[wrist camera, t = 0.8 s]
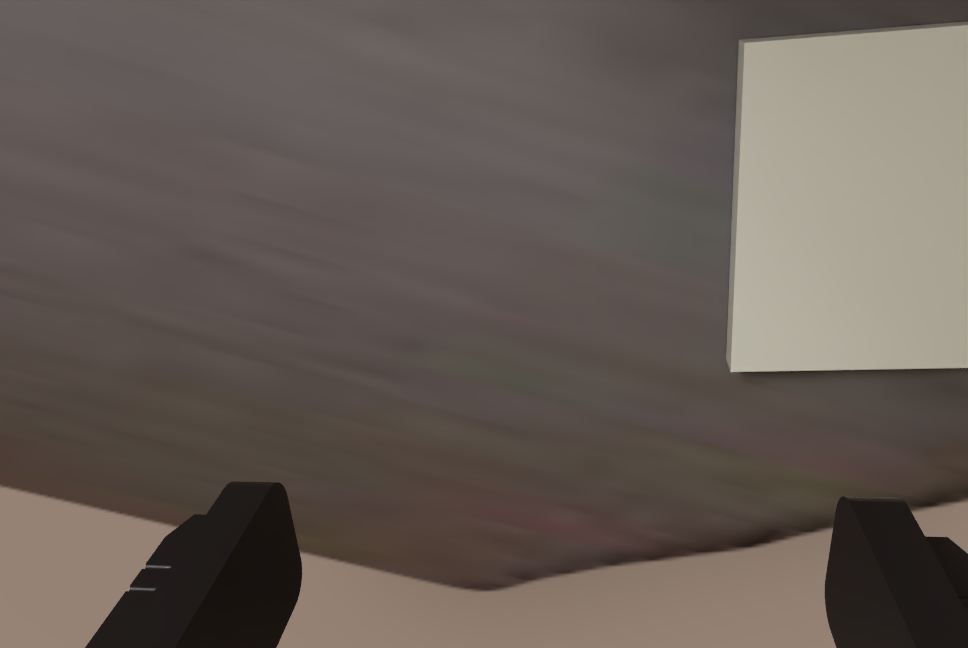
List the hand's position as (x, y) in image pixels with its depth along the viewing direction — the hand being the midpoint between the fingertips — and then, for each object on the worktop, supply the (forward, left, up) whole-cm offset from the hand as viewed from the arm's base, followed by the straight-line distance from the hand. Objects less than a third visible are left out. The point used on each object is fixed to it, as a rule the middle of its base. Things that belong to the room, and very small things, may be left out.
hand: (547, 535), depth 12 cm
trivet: (+4, +13, -29) cm, 32 cm away
